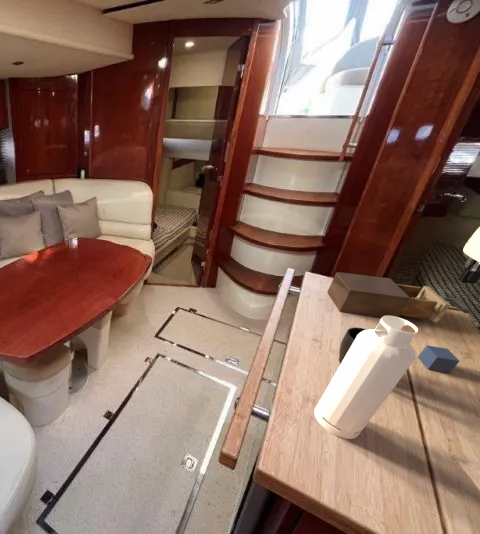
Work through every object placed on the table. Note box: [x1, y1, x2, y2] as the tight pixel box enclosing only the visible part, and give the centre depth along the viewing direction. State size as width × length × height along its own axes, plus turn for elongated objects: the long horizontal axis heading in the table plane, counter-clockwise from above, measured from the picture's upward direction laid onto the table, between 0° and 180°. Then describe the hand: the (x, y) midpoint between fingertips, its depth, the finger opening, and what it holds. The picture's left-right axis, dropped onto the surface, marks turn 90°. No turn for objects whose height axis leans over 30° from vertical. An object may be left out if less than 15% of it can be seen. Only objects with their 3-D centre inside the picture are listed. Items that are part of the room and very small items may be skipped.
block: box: [417, 344, 460, 374], centre depth 79 cm, size 4×4×4 cm
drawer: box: [395, 283, 471, 324], centre depth 97 cm, size 21×10×7 cm, turn 72°
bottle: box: [313, 316, 419, 440], centre depth 60 cm, size 8×8×28 cm
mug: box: [338, 326, 368, 365], centre depth 77 cm, size 8×12×10 cm
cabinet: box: [326, 271, 410, 319], centre depth 101 cm, size 15×12×9 cm
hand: (466, 281), depth 88 cm, fingers closed
